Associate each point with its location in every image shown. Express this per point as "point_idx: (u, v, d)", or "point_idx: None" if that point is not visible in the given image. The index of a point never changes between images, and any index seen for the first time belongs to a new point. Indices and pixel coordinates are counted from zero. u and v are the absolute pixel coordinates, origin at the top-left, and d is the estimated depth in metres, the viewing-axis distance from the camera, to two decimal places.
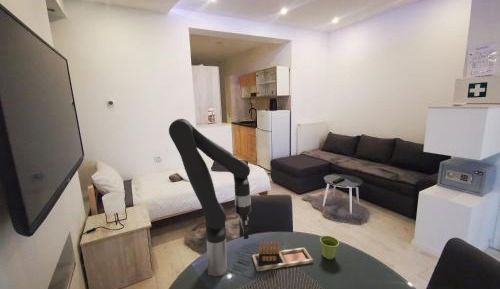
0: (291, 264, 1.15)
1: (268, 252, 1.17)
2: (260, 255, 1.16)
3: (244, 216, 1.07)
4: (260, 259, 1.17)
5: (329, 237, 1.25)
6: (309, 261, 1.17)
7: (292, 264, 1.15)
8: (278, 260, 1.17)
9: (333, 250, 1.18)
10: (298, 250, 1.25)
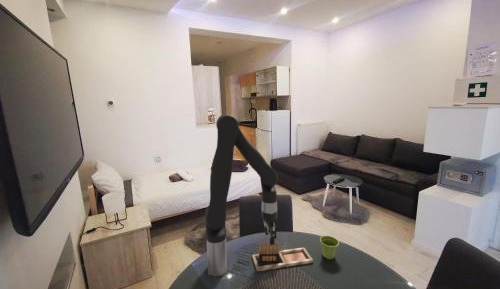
0: (291, 264, 1.15)
1: (268, 252, 1.16)
2: (260, 255, 1.16)
3: (271, 222, 1.10)
4: (260, 259, 1.17)
5: (329, 237, 1.25)
6: (309, 261, 1.17)
7: (292, 264, 1.15)
8: (278, 260, 1.17)
9: (333, 250, 1.18)
10: (298, 250, 1.25)
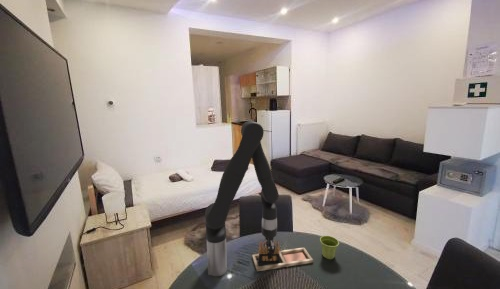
0: (291, 264, 1.15)
1: None
2: (260, 255, 1.16)
3: (271, 239, 1.12)
4: (260, 259, 1.17)
5: (329, 237, 1.25)
6: (309, 261, 1.17)
7: (292, 264, 1.15)
8: (278, 260, 1.17)
9: (333, 250, 1.18)
10: (298, 250, 1.25)
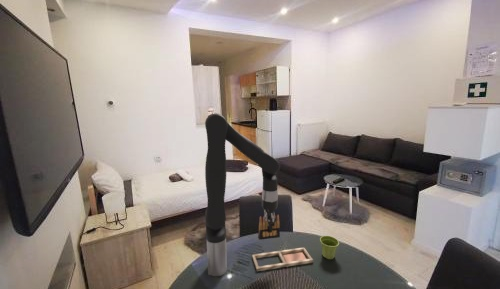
0: (291, 264, 1.15)
1: None
2: (261, 231, 1.13)
3: (271, 211, 1.09)
4: (261, 235, 1.13)
5: (329, 237, 1.25)
6: (309, 261, 1.17)
7: (292, 264, 1.15)
8: (278, 234, 1.15)
9: (333, 250, 1.18)
10: (298, 250, 1.25)
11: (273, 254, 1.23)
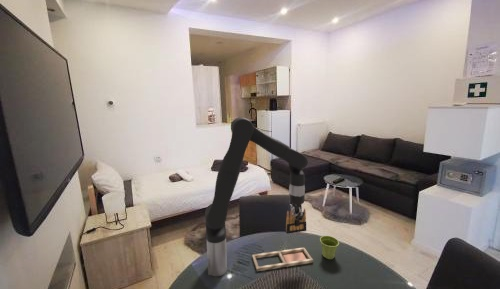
0: (291, 264, 1.15)
1: None
2: (288, 225, 1.16)
3: (299, 205, 1.11)
4: (288, 229, 1.16)
5: (329, 237, 1.25)
6: (309, 261, 1.17)
7: (292, 264, 1.15)
8: (305, 228, 1.18)
9: (333, 250, 1.18)
10: (298, 250, 1.25)
11: (273, 254, 1.23)
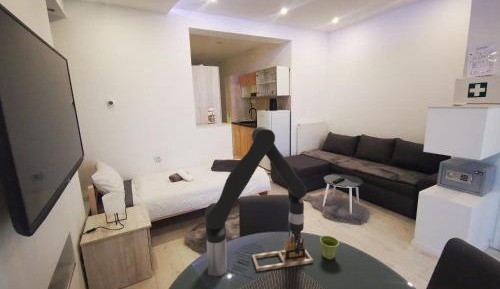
0: (291, 264, 1.15)
1: None
2: (287, 252, 1.18)
3: (298, 233, 1.14)
4: (288, 255, 1.19)
5: (329, 237, 1.25)
6: (309, 261, 1.17)
7: (292, 264, 1.15)
8: (304, 254, 1.21)
9: (333, 250, 1.18)
10: None
11: (273, 254, 1.23)
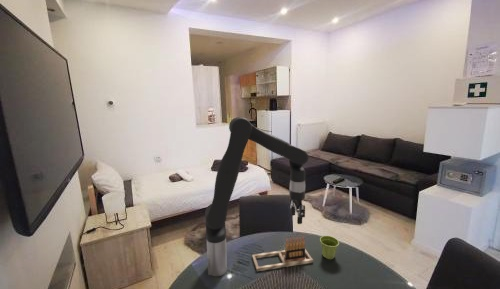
0: (291, 264, 1.15)
1: (295, 248, 1.19)
2: (287, 252, 1.18)
3: (299, 201, 1.11)
4: (288, 255, 1.19)
5: (329, 237, 1.25)
6: (309, 261, 1.17)
7: (292, 264, 1.15)
8: (304, 254, 1.21)
9: (333, 250, 1.18)
10: None
11: (273, 254, 1.23)
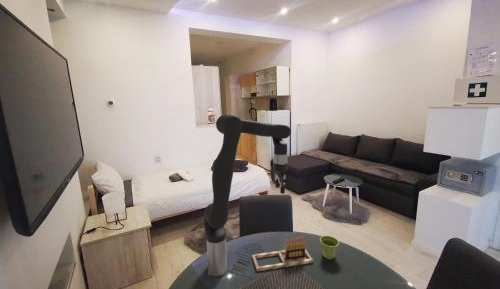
0: (291, 264, 1.15)
1: (295, 248, 1.19)
2: (287, 252, 1.18)
3: (282, 173, 1.22)
4: (288, 255, 1.19)
5: (329, 237, 1.25)
6: (309, 261, 1.17)
7: (292, 264, 1.15)
8: (304, 254, 1.21)
9: (333, 250, 1.18)
10: None
11: (273, 254, 1.23)
